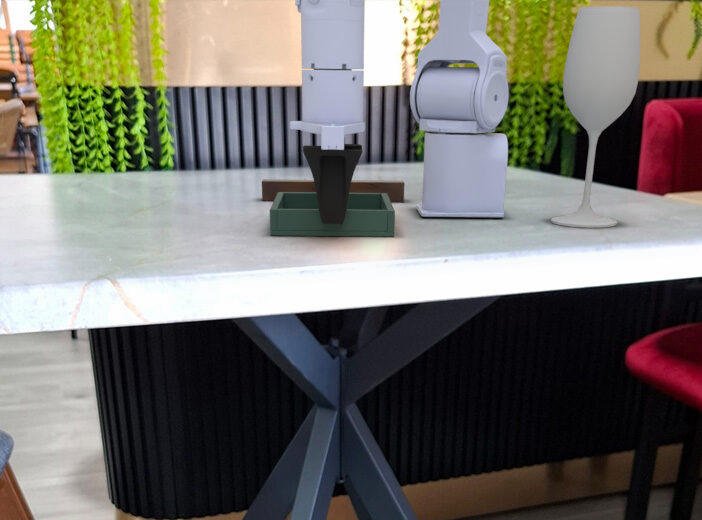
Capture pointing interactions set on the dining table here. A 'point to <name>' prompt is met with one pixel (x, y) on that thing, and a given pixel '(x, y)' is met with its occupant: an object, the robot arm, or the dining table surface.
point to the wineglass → (600, 84)
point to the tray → (304, 220)
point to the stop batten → (357, 186)
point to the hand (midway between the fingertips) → (332, 223)
